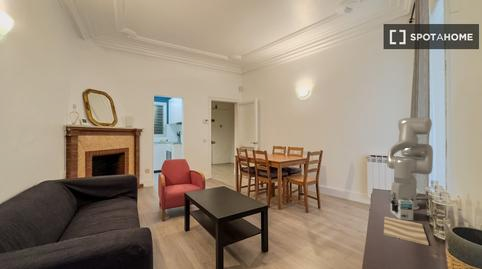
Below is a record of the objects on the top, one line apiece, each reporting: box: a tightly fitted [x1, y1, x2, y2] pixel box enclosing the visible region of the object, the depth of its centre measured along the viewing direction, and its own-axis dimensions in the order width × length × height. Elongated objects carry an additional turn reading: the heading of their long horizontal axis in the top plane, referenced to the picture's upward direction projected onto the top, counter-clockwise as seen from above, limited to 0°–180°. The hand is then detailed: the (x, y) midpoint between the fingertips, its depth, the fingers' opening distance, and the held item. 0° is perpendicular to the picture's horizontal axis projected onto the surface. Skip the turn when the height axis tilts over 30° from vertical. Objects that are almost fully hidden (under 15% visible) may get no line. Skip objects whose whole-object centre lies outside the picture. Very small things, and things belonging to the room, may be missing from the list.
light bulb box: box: [390, 198, 414, 221], centre depth 121 cm, size 11×7×11 cm, turn 170°
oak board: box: [383, 216, 429, 246], centre depth 104 cm, size 22×16×1 cm
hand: (401, 210), depth 121 cm, fingers closed on light bulb box, 8 cm apart
